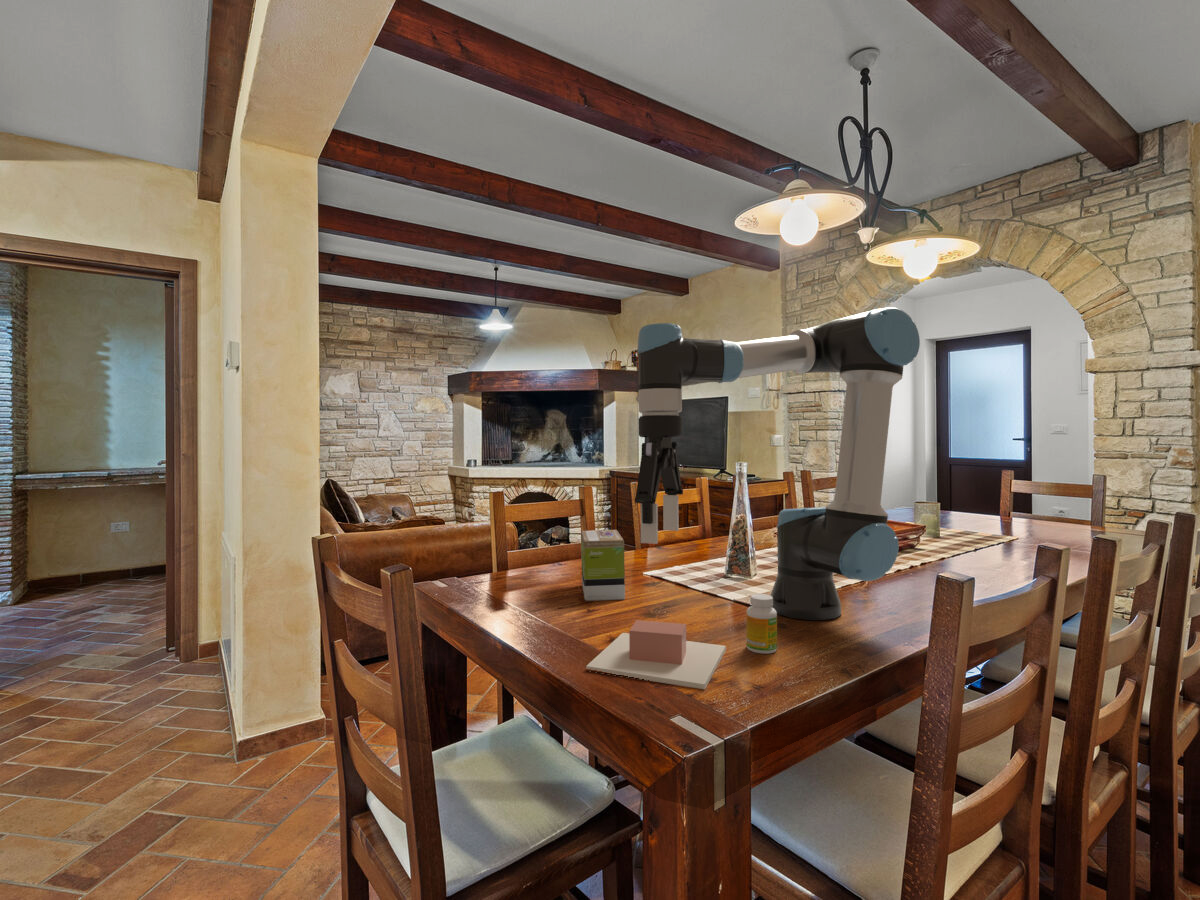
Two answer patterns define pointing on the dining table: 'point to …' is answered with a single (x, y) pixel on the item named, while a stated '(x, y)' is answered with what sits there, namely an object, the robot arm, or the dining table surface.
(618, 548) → the tea box
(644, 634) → the reddish brown rectangular block
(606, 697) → the dining table surface
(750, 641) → the supplement bottle
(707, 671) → the mat
